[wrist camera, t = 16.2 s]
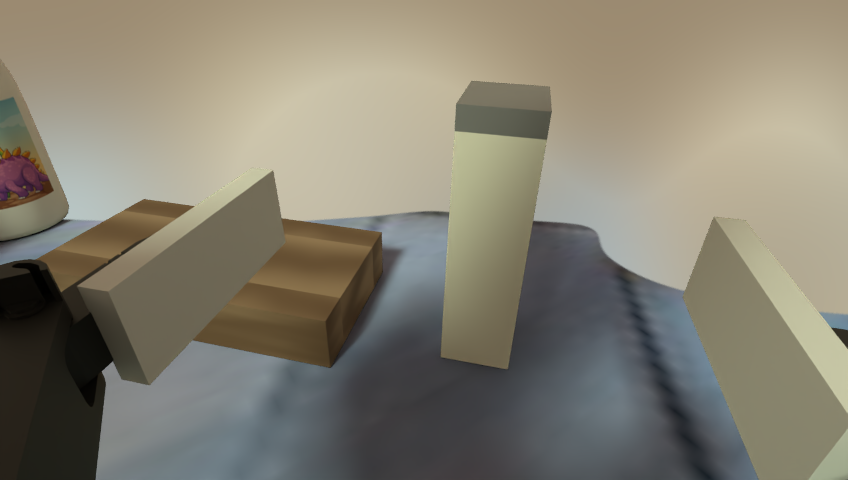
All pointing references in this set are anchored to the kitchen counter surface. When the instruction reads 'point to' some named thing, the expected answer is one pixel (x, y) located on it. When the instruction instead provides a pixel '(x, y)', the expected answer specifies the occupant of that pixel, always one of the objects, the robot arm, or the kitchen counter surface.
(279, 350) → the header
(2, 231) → the milk bottle
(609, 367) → the kitchen counter surface
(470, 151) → the plug
